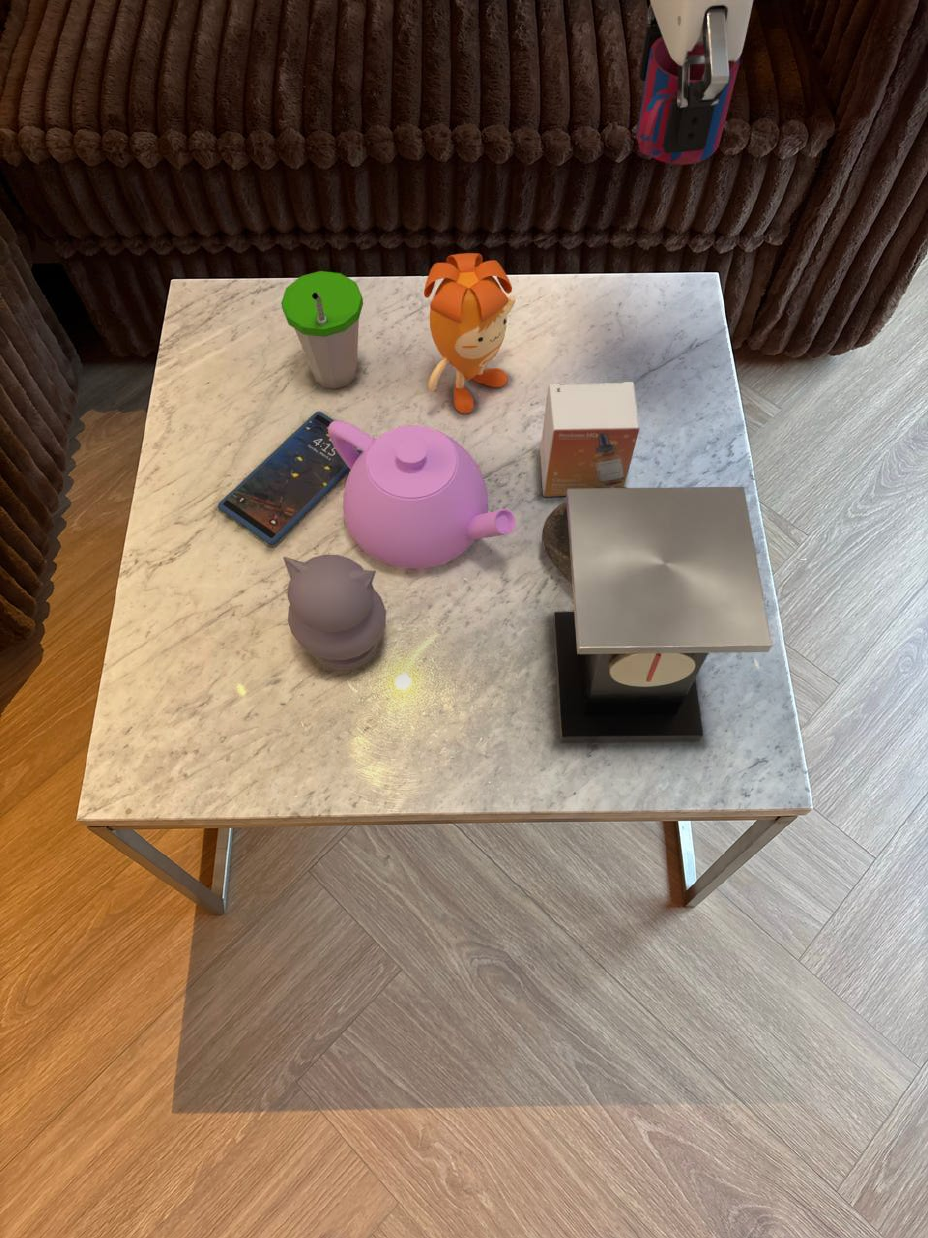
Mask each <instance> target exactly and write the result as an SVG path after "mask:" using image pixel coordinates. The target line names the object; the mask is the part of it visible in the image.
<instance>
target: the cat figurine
mask: <svg viewBox="0 0 928 1238" xmlns="http://www.w3.org/2000/svg"><path fill="white" fill-rule="evenodd" d="M282 558H283V561H284V565H285V567H286V571H287V573H288V576H289V581H288V586H287V600H288V603H289V606H288V615H287V622H288V626H289V629H290V632H291V635H292V637H293V638H294V639H295V641H296V642H297V644H298V645H299V646H300V647H301V649H304V650H305V651H306V652H308V653H310V654H312V655H313V657H314V658H315V660H316V661H317V662H318V663H319V664H320V665H322V666H323V667H325V668H327V669H329V670H333V671H336V672H349V671H353V670H356V669H359V668H361V667H363V666H364V665H366V664H368V663H369V662H370V660H372V658H374V656H375V655H376V653H377V651H378V648H379V645H380V640H381V637H382V635H383V633H384V631H385V628H386V623H387V622H386V619H387V610H386V607H385V604H384V601H383V599H382V597H381V595H380V594H379V593H378V591H377V590H376V589H375V587H374V585H373V581H374V579H375V575H376V573H377V570H369V569H365V568H363V566H362V565H361V564H360V563H358V562H357V561H355V560H353V559H351V558H349V557H346V556H344V555H343V556H342V555H339V554H323V555H322V554H321V555H318V556H314V557H311V558H309V559H308V560H306V561H300V560H296V559H293V558H289V557H286V556H282Z"/></svg>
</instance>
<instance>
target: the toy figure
mask: <svg viewBox="0 0 928 1238" xmlns="http://www.w3.org/2000/svg"><path fill="white" fill-rule="evenodd" d="M483 259H484V258H483V255H482V254H481V253H477V252H476V253H475V252H467V253H456V254H451V255H449V256H447V257H446V259H445V262H436V263H434V264H433V265H432V267H431V268H430V271H429V274H428V276H427V278H426V282H425V285H424V288H423V296H424V297H425V298H427V299H428V298H430V297H431V295H432V293H433V290H434V288H435V285H436V282H437V281H439V280H442V281H441V282H440V283H439V285H438V287H437V289H436V290H435V292H434V295H433V297H432V300H431V301H430V304H429V308H430V310H429V327H430V333H431V337H432V340H433V343H434V345H435V347H436V349H437V351H438V353H439V355H441V357H442V358H441V360H440V361H439V362H438V363H437V365H436V366H435V367H434V369H433V371H432V373H431V375H430V377H429V379H428V385H427V388H428V390H429V391H434V390H436V389H437V385H438V381H439V379H440V377H441V374H442V373H443V371H444V370H445V368H446V367H447V366H448V364H449V365H450V366H452V367H453V368H454V369H455V370H456V377H455V384H454V387H453V403H454V407H455V409H456V410H457V412H459V413H460V414H465V415H466V414H469V413H471V412H472V411H473V410H474V407H475V402H474V399H473V397H472V395H471V394H470V392H469V391H468V390H467V388H466V386H465V380H466V381H472V380H473V381H474V382H476V383H478V384H481V385H485V386H488V387H491V388H502V387H504V386H505V385H507V383H508V381H509V378H508V377H509V376H508V375H507V373H506V372H505V370H503V369H502V368H495V367H494V368H493V367H492V368H488V369H484V367H485V366H486V365H487V364H488V363H490V362H491V361H492V360H493V358H495V357H496V355H497V354H498V353H499V350H500V348H501V347H502V344H503V342H504V339H505V336H506V330H507V326H508V325H507V324H508V315H509V314H510V313H511V311H512V309H513V308H514V306H515V303H516V300H517V299H516V297H515V296H513V295H509V294H511V293H512V291H513V286H512V283H511V281H510V279H509V277H508V276H507V273H506V271H505V270H504V269H503V266H502V265H501V264H500V263H499V262H498V261H497V260H493V259H492V260H491V259H490V260H486V261H484V262H483ZM494 277H496V279H497V280H496V279H495V278H494ZM502 289H503V290H502ZM506 294H508V295H509V296H507V295H506Z"/></svg>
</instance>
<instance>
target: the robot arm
mask: <svg viewBox="0 0 928 1238" xmlns="http://www.w3.org/2000/svg"><path fill="white" fill-rule="evenodd" d="M649 1H650V3H649V4H650V5H649V7H648V9H647V25H648V26H646V27H645V30H644V31H645V32H644V38H643V44H642V51H641V57H640V63H639V70H638V76H639V79H640V81H642V82H645V79H646V73H647V67H648V60H649V54H650V49H651V47H652V45H653V43H654V42H655V41H656V40H657V39H659V38H660V37H662V36H663V39H664V42H665V44H666V47H667V49H668V52H669V54H670V56H671V58H672V59H673V60H674V61H675V62H676V63H677V64H678V82H677V99H672V100H671V105H670V111H669V116H668V121H667V126H666V131H665V136H664V142H663V148H664V151H665V152H666V153H675V152H686V151H697V150H702V149H704V148H705V146H706V142H707V138H708V134H709V130H710V126H711V121H712V117H713V113H714V109H715V105H717V104H718V101H719V98H720V96H721V94H722V93H723V89H724V88H725V86H726V85H727V83H728V81H729V63H728V61H731V62H734V61H737V60H738V58H739V57H740V58H741V56H742V53H743V49H744V46H745V42H746V37H747V32H748V28H749V22H750V18H751V13H752V8H753V4H754V0H649ZM695 45H703V47H704V55H693V56H688V51H692V49H693V48H694V46H695ZM694 65H705V70H704V74H703V76H702V80H701V81H696V82H695V83H694V84H692V85H691V86H690V87H689V80H690V66H694Z"/></svg>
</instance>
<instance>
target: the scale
mask: <svg viewBox="0 0 928 1238" xmlns="http://www.w3.org/2000/svg"><path fill="white" fill-rule="evenodd" d="M565 500H566V502H567V516H568V530H569V544H570V558H571V572H572V584H571V585H572V597H573V598H572V599H573V611H554V612H553V616H552V617H553V618H552V624H553V625H552V626H553V640H554V641H553V642H554V658H555V674H556V675H555V676H556V677H555V678H556V691H557V692H556V693H557V695H556V696H557V706H558V707H557V711H558V726H559V727H558V728H559V742H560V743H561V744H566V743H567V744H570V743H573V744H574V743H578V744H579V743H580V744H581V743H663V742H665V743H666V742H667V743H668V742H669V743H670V742H677V743H679V742H700V741H701V739H702V738H703V737H704V731H703V725H702V717H701V716H702V715H701V709H700V702H699V701H700V700H699V695H698V694H699V693H698V687H697V676H698V674H699V672H700V671H701V669H702V666H703V665H704V663H705V661H706V659H707V657H708V655H709V654H711V653H712V654H717V653H720V654H721V653H726V654H727V653H728V654H729V653H769V652H770V650H771V649H772V647H773V644H772V638H771V631H770V626H769V621H768V615H767V610H766V609H767V608H766V603H765V598H764V597H765V596H764V591H763V586H762V581H761V580H762V579H761V575H760V569H759V563H758V559H757V554H756V547H755V541H754V535H753V530H752V524H751V518H750V512H749V507H748V501H747V495H746V489H745V486H697V487H696V486H694V487H690V486H686V487H684V486H683V487H682V486H681V487H627V488H585V489H567V494H566V496H565Z"/></svg>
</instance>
